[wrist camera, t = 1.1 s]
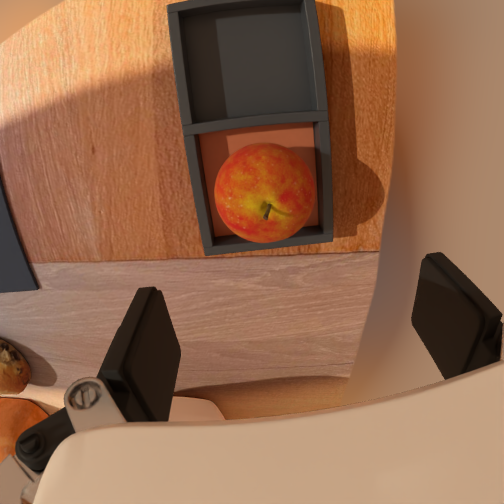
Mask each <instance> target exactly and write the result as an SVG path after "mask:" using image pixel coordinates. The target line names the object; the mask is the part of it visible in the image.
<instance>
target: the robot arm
mask: <svg viewBox="0 0 504 504" xmlns="http://www.w3.org/2000/svg"><path fill="white" fill-rule="evenodd" d="M501 317H502V313H501V312H500V311H499V310H498V309H497V308H496V306H495V305H494V304H493V303H492V302H491V301H490V300H489V299H488V298H487V297H486V296H485V295H484V294H483V293H482V291H481V290H480V289H478V287H477V286H476V285H475V284H474V283H473V282H472V281H471V280H470V279H469V278H468V277H467V276H466V275H465V274H464V273H463V272H462V271H461V270H460V269H458V267H457V266H456V265H454V264H453V263H452V262H451V261H450V260H449V259H448V258H447V257H446V256H445V255H444V254H443V253H441V252H437V253H430V254H427V255H426V256H425V258H424V259H423V260H422V262H421V268H420V275H419V280H418V286H417V292H416V297H415V302H414V307H413V312H412V317H411V321H412V325H413V327H414V328H415V330H416V332H417V333H418V335H419V336H420V338H421V340H422V341H423V343H424V345H425V346H426V348H427V350H428V351H429V353H430V355H431V356H432V358H433V360H434V362H435V363H436V365H437V367H438V369H439V370H440V372H441V374H442V376H443V377H444V379H445V380H444V381H440V382H438V383H434V384H431V385H427V386H424V387H420V388H417V389H413V390H410V391H406V392H402V393H398V394H394V395H390V396H386V397H382V398H378V399H374V400H369V401H364V402H360V403H355V404H350V405H345V406H339V407H333V408H328V409H322V410H315V411H309V412H302V413H294V414H287V415H278V416H269V417H259V418H247V419H232V420H212V421H179V422H168V420H169V415H170V409H171V404H172V398H173V393H174V388H175V383H176V378H177V373H178V368H179V363H180V358H181V349H180V345H179V343H178V340H177V337H176V334H175V331H174V328H173V325H172V322H171V319H170V316H169V313H168V310H167V306H166V303H165V300H164V297H163V294H162V292H161V290H157V289H156V287H144V288H139V289H138V290H137V292H136V294H135V296H134V298H133V301H132V303H131V305H130V307H129V309H128V311H127V313H126V315H125V317H124V319H123V322H122V324H121V326H120V327H119V328H118V330H117V332H116V334H115V336H114V339H113V341H112V343H111V345H110V347H109V350H108V352H107V354H106V356H105V359H104V361H103V363H102V366H101V368H100V370H99V373H98V375H97V377H96V378H95V377H85V378H82V379H79V380H77V381H76V382H74V383H73V384H72V385H71V386H70V387H69V388H68V389H67V391H66V393H65V395H64V405H65V407H64V408H63V409H61V410H59V411H57V412H56V413H54V414H52V415H51V416H49V417H47V418H46V419H44V420H42V421H40V422H39V423H37V424H35V425H33V426H32V427H30V428H28V429H26V430H25V431H24V432H22V433H21V435H20V436H19V437H18V439H17V441H16V444H15V453H16V454H15V455H14V456H12V455H11V454H9V455H8V456H7V457H6V458H5V459H4V460H3V461H2V462H1V463H0V504H504V323H502V322H501V321H500V320H501Z"/></svg>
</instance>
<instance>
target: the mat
mask: <svg viewBox="0 0 504 504" xmlns="http://www.w3.org/2000/svg"><path fill="white" fill-rule="evenodd" d="M38 289H39V287H38V285H37V282H36V280H35V278H34V275H33V273H32V271H31V268H30V266H29V263H28V261H27V258H26V256H25V253H24V250H23V248H22V245H21V242H20V240H19V237H18V234H17V231H16V228H15V225H14V222H13V219H12V216H11V213H10V209H9V206H8V203H7V199H6V196H5V192H4V188H3V185H2V181H1V177H0V293H5V292H18V291H31V290H38Z"/></svg>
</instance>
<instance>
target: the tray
mask: <svg viewBox="0 0 504 504" xmlns="http://www.w3.org/2000/svg"><path fill="white" fill-rule="evenodd" d="M167 13H168V14H167V15H168V25H169V34H170V42H171V51H172V59H173V67H174V75H175V82H176V89H177V97H178V104H179V110H180V117H181V124H182V130H183V136H184V143H185V149H186V155H187V161H188V167H189V173H190V179H191V185H192V190H193V196H194V202H195V207H196V212H197V218H198V223H199V228H200V233H201V239H202V244H203V247H204V253H205V256H210V255H219V254H227V253H236V252H245V251H254V250H263V249H272V248H281V247H289V246H298V245H307V244H316V243H325V242H333V191H332V165H331V145H330V130H329V121H328V120H329V117H328V111H327V110H328V104H327V93H326V82H325V72H324V63H323V55H322V47H321V39H320V32H319V25H318V18H317V11H316V5H315V0H188V1H183V2H178V3H173V4H169V5H167ZM254 143H274V144H279V145H282V146H284V147H286V148H288V149H290V150H292V151H293V152H295V153H296V154H297V155H298V156H299V157H300V158H301V159H302V160H303V161H304V162H305V164H306V165H307V166H308V168H309V170H310V172H311V174H312V177H313V181H314V185H315V202H314V206H313V209H312V212H311V214H310V216H309V218H308V220H307V221H306V223H305V224H304V225H303V226H302V228H301V229H300V230H298V231H297V232H296V233H295V234H293V235H292V236H290V237H288V238H286V239H283V240H279V241H275V242H269V243H257V242H252V241H249V240H246V239H244V238H241V237H240V236H238V235H237V234H235V233H234V232H233V231H231V230H230V229H229V228H228V227H227V225H226V224H225V223H224V222H223V220H222V218H221V217H220V215H219V212H218V210H217V207H216V203H215V196H214V188H215V181H216V178H217V175H218V172H219V170H220V168H221V166H222V165H223V164H224V162H225V161H226V160H227V159H228V158H229V157H230V156H231V155H232V154H233V153H234V152H236V151H237V150H239V149H241V148H243V147H245V146H247V145H250V144H254Z"/></svg>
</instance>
